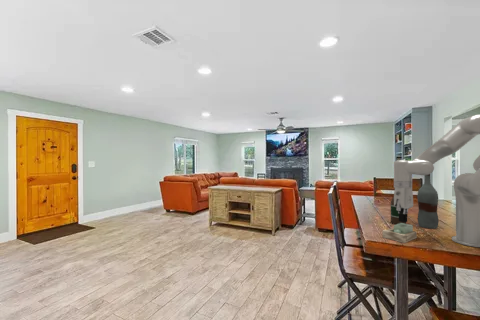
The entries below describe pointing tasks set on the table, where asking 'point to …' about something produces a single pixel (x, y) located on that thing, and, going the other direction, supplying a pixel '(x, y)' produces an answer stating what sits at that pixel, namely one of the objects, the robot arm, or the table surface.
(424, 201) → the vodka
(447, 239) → the table surface
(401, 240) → the cradle
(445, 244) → the table surface
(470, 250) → the table surface
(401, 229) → the bottle
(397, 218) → the beer bottle
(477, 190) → the robot arm
